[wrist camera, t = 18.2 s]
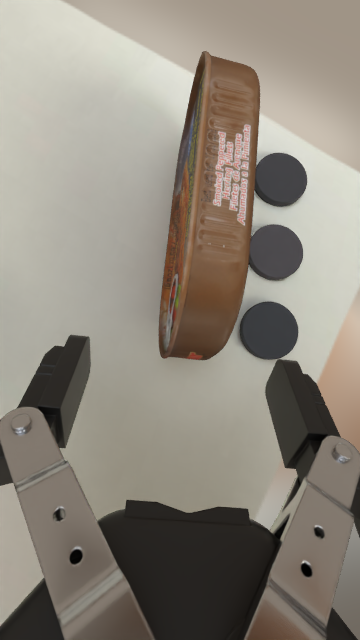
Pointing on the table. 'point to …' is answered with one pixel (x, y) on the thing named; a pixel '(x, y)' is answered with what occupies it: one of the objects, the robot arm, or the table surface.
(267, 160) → the dark grey disc
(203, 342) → the tin
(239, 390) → the table surface
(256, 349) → the dark grey disc
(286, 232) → the dark grey disc
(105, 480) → the table surface
